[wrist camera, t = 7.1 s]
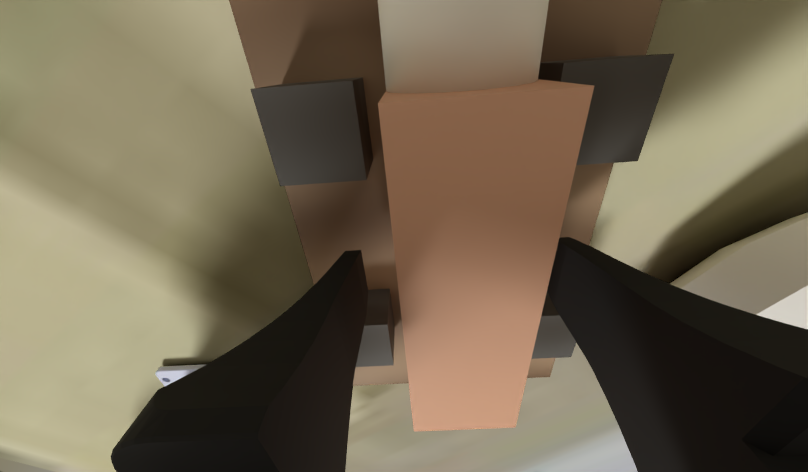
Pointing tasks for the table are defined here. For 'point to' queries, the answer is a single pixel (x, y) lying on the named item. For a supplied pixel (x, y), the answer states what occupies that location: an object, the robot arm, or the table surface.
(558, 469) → the table surface
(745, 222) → the table surface
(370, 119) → the jig
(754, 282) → the candle holder
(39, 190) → the table surface
